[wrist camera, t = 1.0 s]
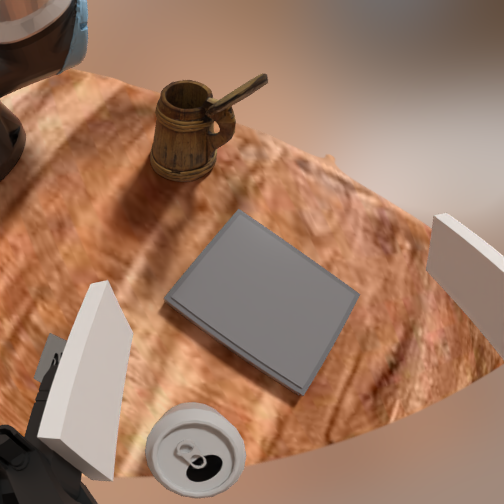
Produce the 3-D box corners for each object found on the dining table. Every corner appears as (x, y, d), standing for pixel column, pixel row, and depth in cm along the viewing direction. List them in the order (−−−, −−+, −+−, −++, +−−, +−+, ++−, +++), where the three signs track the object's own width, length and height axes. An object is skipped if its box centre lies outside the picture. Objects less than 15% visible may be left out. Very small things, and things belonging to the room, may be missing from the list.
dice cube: (66, 340, 30) (49, 332, 26) (105, 359, 30) (92, 354, 26) (52, 380, 28) (33, 378, 24) (90, 400, 28) (75, 401, 24)
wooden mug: (218, 212, 40) (242, 100, 24) (137, 162, 41) (125, 50, 25) (254, 168, 44) (289, 62, 28) (177, 125, 45) (183, 20, 29)
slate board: (164, 301, 34) (163, 297, 33) (236, 215, 40) (238, 208, 39) (298, 395, 33) (303, 395, 31) (354, 297, 39) (360, 293, 37)
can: (186, 479, 27) (186, 521, 16) (143, 424, 28) (120, 443, 18) (243, 442, 30) (271, 469, 19) (201, 388, 31) (208, 389, 21)
